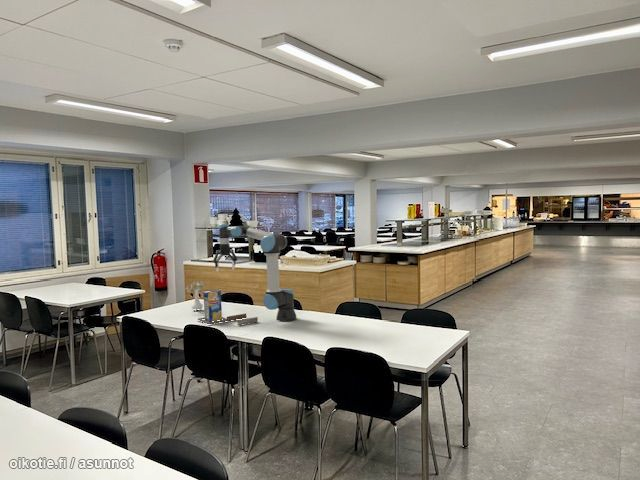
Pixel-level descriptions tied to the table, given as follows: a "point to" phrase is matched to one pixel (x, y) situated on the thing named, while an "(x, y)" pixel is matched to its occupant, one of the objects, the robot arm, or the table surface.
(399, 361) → the table surface
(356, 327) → the table surface
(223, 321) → the tray
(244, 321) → the carton holder
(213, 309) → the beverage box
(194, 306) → the flower vase
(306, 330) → the table surface
